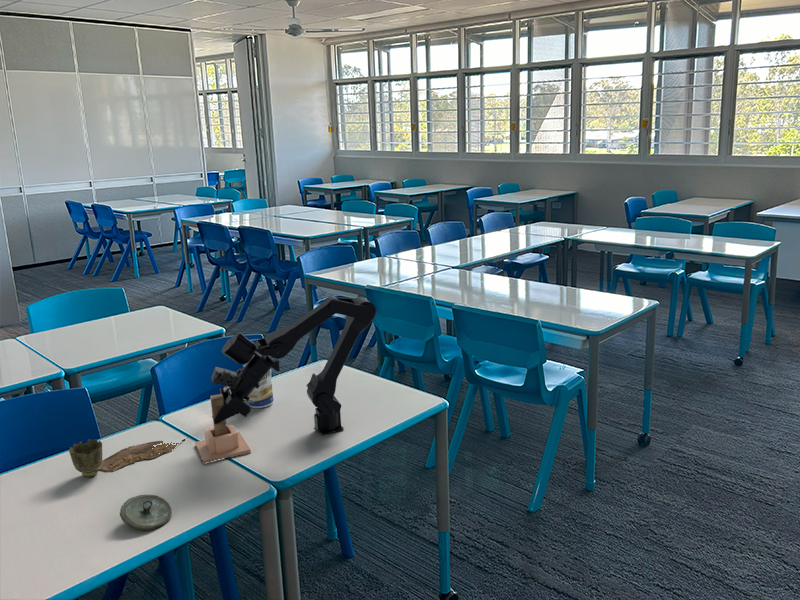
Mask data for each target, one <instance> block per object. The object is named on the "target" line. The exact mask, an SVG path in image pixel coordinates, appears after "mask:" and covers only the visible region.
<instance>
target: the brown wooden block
mask: <svg viewBox="0 0 800 600" xmlns="http://www.w3.org/2000/svg"><path fill="white" fill-rule="evenodd" d="M210 404H211V405H210V407H211V416H212V415H213V418H212V421H214V419H215V417H216V416H217V414H218V412H219V411H220V409H221V408H222V406H223V395H222V394H221V393H219V394H214V395H213V394H212V395H210ZM212 423H213V428H214V432H215V437H217V436H221V435H225V434H227V426H228V425H227V419H226V420H224V421H222V422H220V423H218V424H215V423H214V422H212ZM226 425H227V426H226Z"/></svg>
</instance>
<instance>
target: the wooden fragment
mask: <svg viewBox="0 0 800 600" xmlns="http://www.w3.org/2000/svg"><path fill="white" fill-rule="evenodd" d="M160 443H162V445H157V444H160ZM171 443H172V442H171ZM171 443H170V445H169V443H167V444H165V443H164V444H163V441H162V440H155V441H150V442H145V443H141V444H137V445H132V446H128V447H124V448H122V449H121V450H118V451H117V452H114V453H113V454H111V455H109V456H108V457H106V458H105V459H102V463H101V465H100V467H99V468H98V472H105V471H106V472H109V471H112V472H113V473H114V472H116V471H117V470H119V469H121V468H124V467H127V465H128V466H129V465H132V464H135V463H136V462H135V461H137V462H141V461H144V459H146V460H152V459H154V458H157V457H159V456H161V455H163V453H164V454H166V452H167V453H169V452H168V451H171V452H173V451H172V449H174V448H175V447H176V446H177V444H179V443H176V445H172V444H171ZM173 444H175V443H173ZM153 445H157V446H156V447H154V446H153ZM167 445H168V446H167ZM166 446H167V447H166ZM152 448H153V449H152ZM175 449H176V448H175ZM175 449H174V450H175ZM159 453H160V454H159ZM140 460H141V461H140ZM146 460H145V461H146ZM134 462H135V463H134ZM101 470H102V471H101ZM112 472H111V473H112Z"/></svg>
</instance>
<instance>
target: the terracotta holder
mask: <svg viewBox="0 0 800 600" xmlns="http://www.w3.org/2000/svg"><path fill="white" fill-rule="evenodd" d="M226 426H227V434H225V435H221V436H217V437H215V432H214V427H210V428H208V429H206V430H203V431H204V439H202V440H199V441H195V442H194V444H195V445H196V446H195V447H197V448H196V450H197V449H198V450H197V453H198V454H199V456H201V457H200V458H202V459H201V461H202V460H203V461H202V463H203V462H204V463H206V462H211V461H214V460H218V459H222V458H228V457H232V458H235V457H234V456H236V457H239V456H238V455H240V456H243V455H247V454H251V448H250V447H249V445H248V443H247V441H246V440H245V438H244V437H243V436H242V434H241V433H240V431H237V429H236V428H235V427H234V425H233V424H230V425H229V424H228V425H227V424H226ZM228 459H229V458H228ZM204 463H203V464H204ZM211 463H212V462H211Z"/></svg>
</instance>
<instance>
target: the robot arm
mask: <svg viewBox="0 0 800 600" xmlns="http://www.w3.org/2000/svg"><path fill="white" fill-rule="evenodd" d="M336 314H337V315H342V316H345V324H344V327H343V329H342V331H341V333H340V335H339V337H338V339H337V341H336V343H335V345H334V347H333V349H332V351H331V354H330V355H329V356H328V359H327V361H326V363H325V366H323V369H322V370H321V371H320V372H319V373H318V374H316V373H312V375H311V378H310V380H309V382H308V383H307V384H306V387H307V389H306V395H307V397H308V398H309V400H310V402H311V403H312V404H313V406H314V407H315V409H314V410H315V413H314V414H313V419H314V428H315V429H316V431H318V432H319V433H320V434H321V435H322V436H323V435H329V434H332V433H337V432H340V431H343V430H345V429H344V427H343V426H342V418H341V415H342V414H341V408H342V404H341V403H340V401H339V400H338V399H337V397H336V396H335V394H336V389H337V380H338V378H339V376H340V374H341V372H342V370H343V368H344V366H345V364H346V362H347V360H348V358H349V356H350V354H351V351H352V350H353V348H354V345H355V343H356V342H357V340H358V339H359V336H360V334H362V332H363V331H364V330H365V329H366V328H368V327H369V325H371V323H372V322H373V320H374V319H375V317H376V315H377V309H376V306H375V305H374V303H372V302H371V301H369V300H368V299H367V298H365V297H363V296H357V297H354V298H349V297H337V296H328V297H326V299H325V300H324V301H322V302H321V303H319V304H318V305H317V306H316V307H313V308H312V309H311V310H310V311H308V312H307V313H306V314H304V315H303V316H301V317H300V318H299V319H297V320H295V321H294V322H293V323H291V324H289V325H288V326H284V327H281V328H278V329H276V330H274V331H272V332H270V333H268V334H267V335H266V336H265V337H262V338H257V339H258V340H255V341H250V340H251V339H249V338H248V337H246V336H245V335H244V334H243V333H242V332H240V331H238V332H237V333H236V334H234V335H233V336H231V337H230V338H228V339H227V341H226V342H225V343H224V345H223V347H222V349H221V353H222V354H224V356H227V357H228V358H229V359H230V360H232V361H234V362H235V363H236V364H238V365H243V364H246V363H247V364H246V366H245V367H243V368H241V367H240V368H238V369H237V370H236V371H233V370H230V369H227V368H222V367H218V366H215V367H214V369H213V371H212V375H211V376H210V377H211V378H210V379H211V383H212V384H214V385H217V386H218V385H221V386H224V387H223V388H222V387H219V392H220V394H222V395H223V406H222V408H221V409H220V411H219V412H218V414H217V416H216V417H215V419H214V421H213V420H212V421H213V422H214V423H215V424H218V423H220V422H222V421H224V420H226V421H227V420H228V419H230V418H231V417H234V416H236V415H238V414H240V415H241V416H242V417H244V418H247V417H248V416H249V415H250V414H251V413H252V407H250V405H249V402H247V401H248V400H249V399H250V397H249V395H250V394H251V392H252V391H253V390H254V389H255V388H257V389H258V388H259V387H260V385H259V383H260V382H261V380H262V379H263V378H264V377H265V375H266V374H267V373H268V372H269V371H270V369H271V370H272V369H274V370H275V371H276V372H280V371H281V369H280V361H279V360H281V359H283V358H285V357H286V356H287V355H288V354H289V353H290V352H291V351H292V350H293V349H294V348H295V347H296V346H297V344H298V343H299V341H300V340H301V339H302V338H303V337H305V336H307V335H308V334H309V333H310V332H312V331H313V330H315V329H316V328H317V327H319V326H321V324H323V323H324V322H326V321H328V320H329V319H330V318H332V317H333V316H334V315H336ZM256 351H257V352H256ZM211 417H212V419H213V415H212V414H211ZM213 422H212V423H213ZM214 423H213V424H214Z"/></svg>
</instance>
